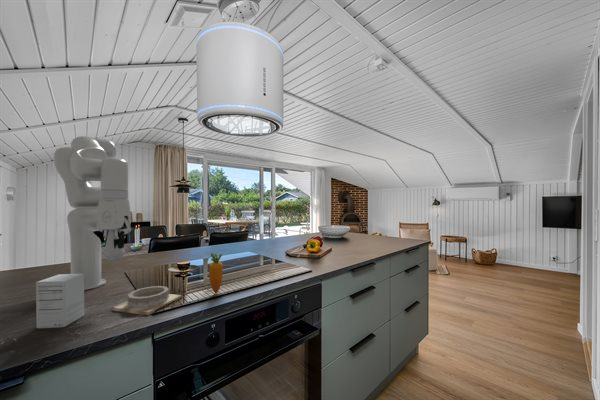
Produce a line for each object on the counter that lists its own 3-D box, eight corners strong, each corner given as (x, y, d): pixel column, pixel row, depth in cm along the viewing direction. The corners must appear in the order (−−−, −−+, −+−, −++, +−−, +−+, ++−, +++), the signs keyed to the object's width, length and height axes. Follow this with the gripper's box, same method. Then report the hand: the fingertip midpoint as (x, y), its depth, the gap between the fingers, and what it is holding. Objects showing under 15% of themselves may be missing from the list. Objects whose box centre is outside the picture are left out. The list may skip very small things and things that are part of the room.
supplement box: (58, 316, 75) (58, 273, 76) (85, 315, 76) (85, 273, 76) (34, 329, 68) (34, 281, 68) (64, 327, 69) (64, 280, 69)
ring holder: (112, 310, 79) (112, 297, 79) (149, 294, 93) (149, 283, 93) (147, 315, 76) (147, 301, 76) (181, 298, 89) (181, 286, 89)
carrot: (225, 291, 95) (225, 251, 95) (217, 296, 90) (217, 254, 90) (214, 290, 96) (214, 250, 97) (205, 295, 92) (205, 253, 92)
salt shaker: (113, 261, 83) (113, 221, 82) (99, 260, 84) (99, 221, 84) (129, 257, 88) (129, 220, 88) (115, 257, 89) (115, 220, 89)
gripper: (84, 195, 85) (84, 251, 85) (122, 195, 80) (122, 254, 80) (107, 195, 92) (107, 246, 92) (143, 196, 87) (143, 249, 87)
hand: (114, 249), depth 86 cm, fingers closed on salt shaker, 3 cm apart
